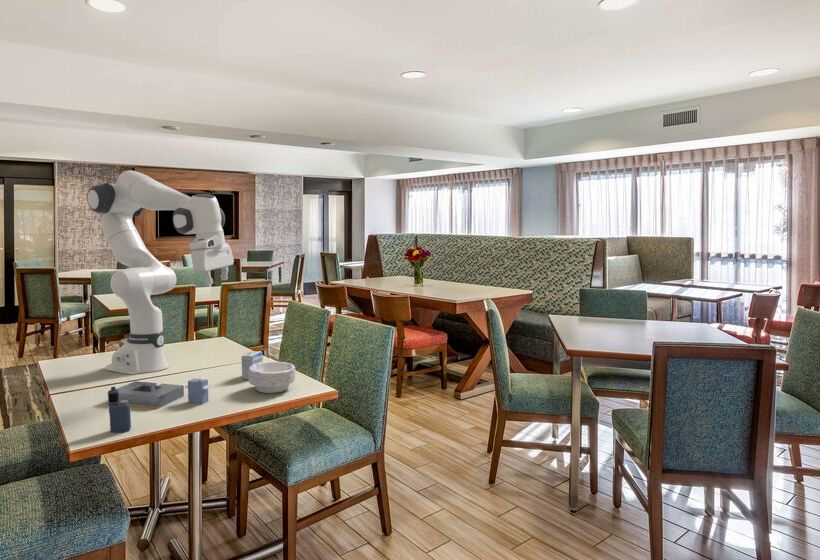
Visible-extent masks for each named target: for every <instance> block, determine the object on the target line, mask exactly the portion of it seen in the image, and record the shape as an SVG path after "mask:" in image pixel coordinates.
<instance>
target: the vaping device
mask: <svg viewBox="0 0 820 560" xmlns="http://www.w3.org/2000/svg"><path fill="white" fill-rule="evenodd" d="M108 393H109V404H108V413H109V426H110V427H109V428H110V431H109V432H110V433H127V432H130V430H131V428H132V423H131V422H132V421H131V420H132V419H131V406H129V404H128V400H122V401H120V403H119V394H118V390H117V388H116V386H111V387H110V390H108V392H107V394H108Z"/></svg>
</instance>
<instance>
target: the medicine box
mask: <svg viewBox="0 0 820 560" xmlns="http://www.w3.org/2000/svg"><path fill="white" fill-rule="evenodd" d="M263 362H264V359H263V351H258V350H257V351H256V350H255V351H250V352H248V353H246V354H244V355H242V356H241V379H242V380H248V381H249V368H250V366H252V365H254V364H258V363H263Z"/></svg>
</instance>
